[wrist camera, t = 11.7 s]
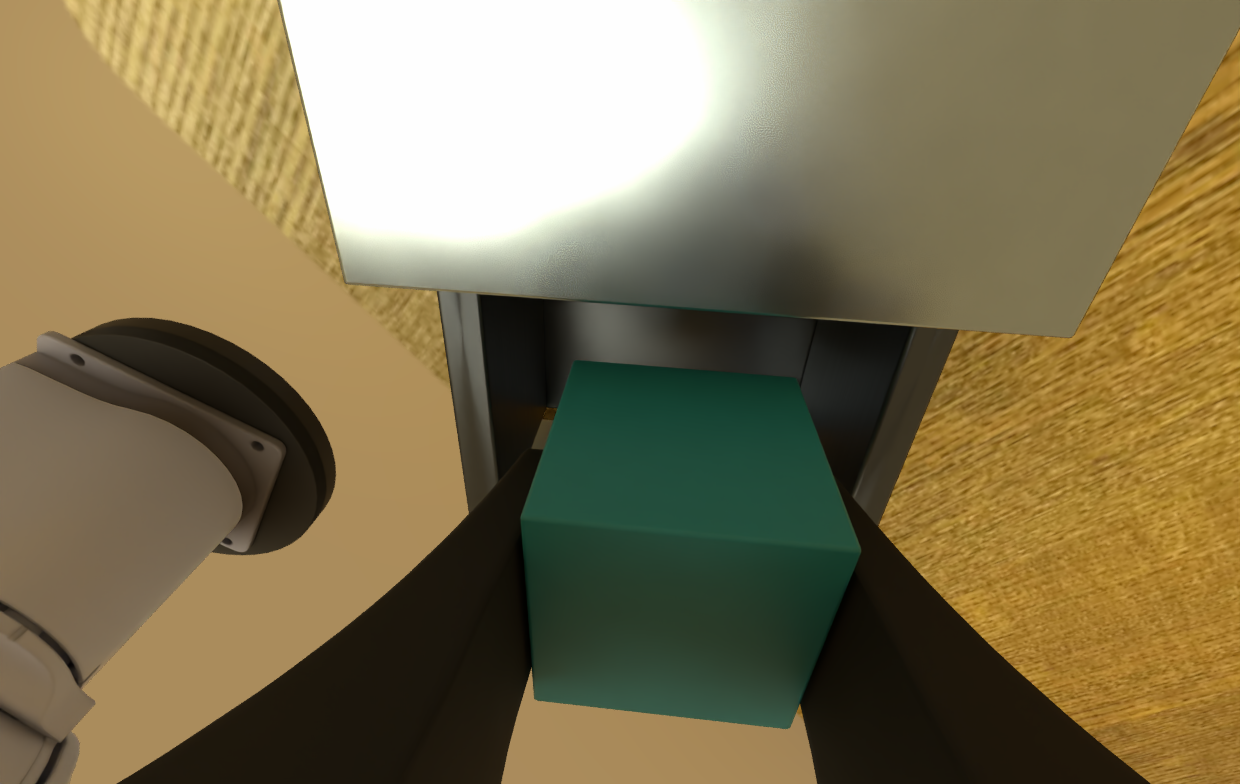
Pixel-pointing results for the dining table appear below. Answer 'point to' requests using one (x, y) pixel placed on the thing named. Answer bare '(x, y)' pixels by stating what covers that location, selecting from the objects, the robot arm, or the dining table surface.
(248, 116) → the dining table surface
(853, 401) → the grey drawer
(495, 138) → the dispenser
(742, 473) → the teal green cube
